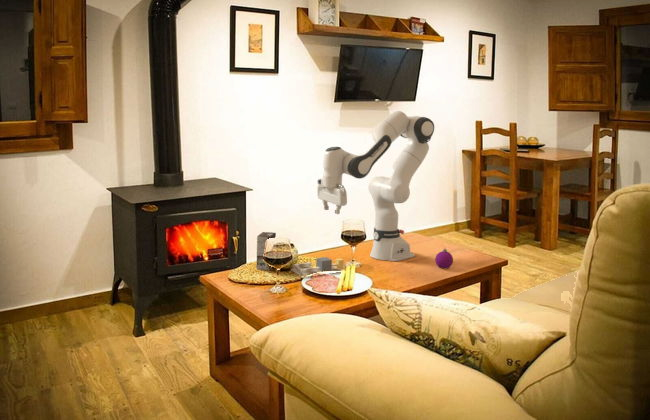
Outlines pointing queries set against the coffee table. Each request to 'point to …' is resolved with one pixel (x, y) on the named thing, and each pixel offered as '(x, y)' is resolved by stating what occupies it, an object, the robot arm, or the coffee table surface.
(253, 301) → the coffee table surface
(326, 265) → the cord block
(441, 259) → the christmas ornament
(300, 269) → the lane shelf
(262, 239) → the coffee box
